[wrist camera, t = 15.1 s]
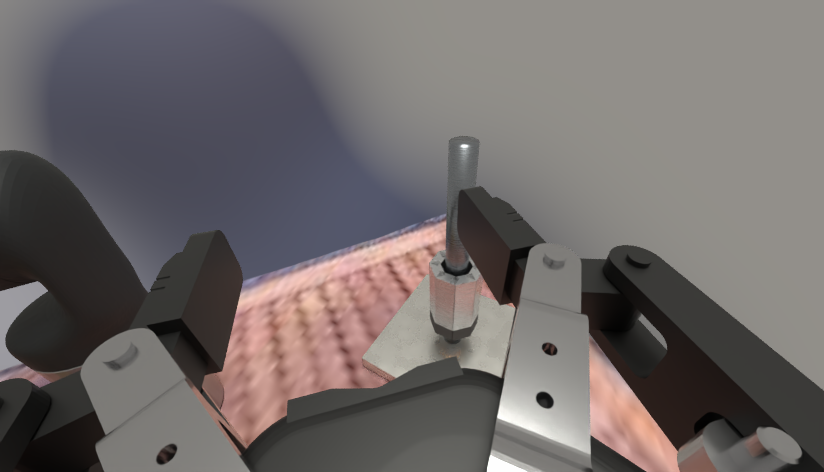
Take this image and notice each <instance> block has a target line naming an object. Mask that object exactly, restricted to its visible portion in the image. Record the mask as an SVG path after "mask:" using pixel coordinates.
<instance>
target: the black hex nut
mask: <svg viewBox="0 0 824 472" xmlns="http://www.w3.org/2000/svg"><path fill="white" fill-rule="evenodd" d="M430 320H431V323H432V325H433V328H434V331H435V333H437V334H439V335H441V336H443V337H445V338H447V339H450V340H452V341H453V340H457V339H461V338H465V337H469V336H471V334H472V332H473V330H474V328H475V326H476V324H477V321H478V315H477V317H476V319H475V321H474V322H473V324H472V326H471V327H467V328H463V329H459V330H455V331H453V330H452V331H451V330H449V329H447V328H445V327H443V326H441V325H438V324H436V323H435V321H434V318H433V316H432V313H431V310H430Z"/></svg>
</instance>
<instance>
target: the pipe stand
mask: <svg viewBox="0 0 824 472" xmlns="http://www.w3.org/2000/svg"><path fill="white" fill-rule="evenodd" d="M479 143H480V142H479V140H478V139H475V138H474V137H468V136H459V137H454V138H452V139H451V140H449V157H448V189H447V190H448V191H447V221H446V255H445V273H447V274H450V275H453V276H455V277H457V276H462V275H467V274H468V263H469V254H468V252H467V251H466V249H465V248H464V246H463V244H462V243H461V241H460V239H459V236H458V231H457V214H458V196H459V192H460V190H461V189H467V188H473V187H476V176H477V164H478V154H479ZM514 313H515V308H513V307H510V306H508V305H505V304H504V305H499V303H498V301H495V300H493V299H490V298H487V297H485V296H482V295H481V298H480V306H479V313H478V321H477V324H476V326H475V328H474V330H473V332H472V334H471V336H469V337H465V338H461V339H457V340H453V341H452V340H450V339H447V338H445V337H443V336H441V335H439V334H437V333H435V331H434V328H433V325H432V323H431V320H430V279H429V274H427V275H426V276H425V278H424V279H423V280H422V282H421V283H420V284H419V285H418V287H417V288H416V289H415V290H414V292H413V293H412V294H411V296H410V297H409V298H408V299H407V301H406V302H405V303H404V305H403V306H402V307H401V308H400V310H399V311H398V312H397V314H396V315H395V316H394V317H393V319H392V320H391V321H390V322H389V324H388V325H387V326H386V328H385V329H384V330H383V331H382V333H381V334H380V335H379V337H378V338H377V339H376V340H375V342H374V343H373V344H372V345H371V347H370V348H369V349H368V351H367V352H366V353H365V354H364V356H363V357H362V361H363V365H364V366H365V367H366V368H368V369H370V370H371V371H373V372H375V373H376V374H378V375H380V376H381V377H383V378H385V379H387V380H388V381H392V380H394V379H395V378H397V377H399V376H401V375H403V374H404V373H406V372H408V371H410V370H412V369H413V368H415V367H417V366H420V365H424V364H428V363H432V362H436V361H439V360H443V359H447V358H451V357H454V356H456V357H457V359H458V362H459V364H460V367H461V368H470V369H477V370H481V371H485V372H488V373H491V374H494V375H496V376H498V377H500V378H501V373H502V369H503V365H504V360H505V355H506V351H507V346H508V341H509V336H510V331H511V327H512V322H513V317H514Z"/></svg>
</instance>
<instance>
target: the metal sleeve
mask: <svg viewBox="0 0 824 472" xmlns="http://www.w3.org/2000/svg"><path fill="white" fill-rule="evenodd" d="M445 255H446V250H443V251H439V252H438V253H437V254H436V255H435V257H434V258H433V259H432V260H431V262H430V263H429V279H430V310H431V313H432V316H433V318H434V321H435V323H436V324H438V325H441V326H443V327H445V328H447V329H449V330H451V331H452V330H453V331H455V330H459V329H463V328H467V327H471V326H472V324H473V322H474V321H475V319H476V317H477V315H478V313H479V306H480V298H481V291H482V284H483V277H482V275H481V274H480V272H479V270H478V269H477V267H476V265H475V264H474V262H473V261H472V259H471V257H470V256H469V263H468V274H467V275H462V276H457V277H455V276H453V275H450V274H447V273H445Z"/></svg>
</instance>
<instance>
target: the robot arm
mask: <svg viewBox="0 0 824 472" xmlns="http://www.w3.org/2000/svg"><path fill="white" fill-rule="evenodd" d="M457 231H458V236H459V239H460V241H461V243H462V244H463V246H464V248H465V249H466V251H467V252H468V254H469V256H470V257H471V259H472V261H473V262H474V264H475V265H476V267H477V269H478V270H479V272H480V274H481V275H482V277H483V279H484V280H485V282H486V283H487V285H488V287H489V288H490V290H491V292H492V293H493V295H494V297H495V298H496V300H497V301H498V303H499V305H504V304H508V303H513V305H514V306H515V313H514V317H513V322H512V327H511V331H510V336H509V341H508V346H507V351H506V355H505V360H504V365H503V369H502V373H501V378H500V377H498V376H496V375H494V374H491V373H488V372H485V371H481V370H477V369H470V368H461V367H460V364H459V362H458V359H457V357H456V356H454V357H451V358H447V359H443V360H439V361H436V362H432V363H428V364H424V365H420V366H417V367H415V368H413V369H412V370H410V371H408V372H406V373H404V374H403V375H401V376H399V377H397V378H395V379H394V380H392V381H390V382H388V383H386V384H385V385H383V386H381V387H378V388H360V389H329V390H326V391H322V392H318V393H314V394H310V395H307V396H303V397H299V398H295V399H291V400H288V405H287V416H285V417H283V418H281V419H280V420H278V421H277V422H275V423H274V424H272V425H271V426H270V427H269V428H267V429H266V430H265V431H264V432H262V433H261V434H260V435H259V436H258V437H257V438H256V439H255V440H254V441H253V442H252V443H251V444H250V445H249V446H248V445H247V444H246V443H245V442H244V440H243V439H242V438H241V437H240V436H239V434H238V433H237V432H236V430H235V429H234V428H233V426H232V425H231V424H230V422H229V421H228V420H227V418H226V417H225V416H224V414H223V413H222V412H221V410H220V407H221V405H222V401H223V395H224V390H223V386H222V384H221V382H220V380H219V379H218V378H217V377H216V376H215V374H214V373H217V372H221V371H222V369H223V365H224V361H225V357H226V352H227V348H228V344H229V339H230V335H231V331H232V326H233V322H234V318H235V314H236V309H237V305H238V301H239V296H240V292H241V288H242V283H243V277H242V271H241V267H240V265H239V263H238V261H237V259H236V257H235V255H234V253H233V251H232V249H231V248H230V245H229V243H228V241H227V239H226V237H225V235H224V234H223V233H222V232H221V231H220V230H215V231H209V232H203V233H197V234H192V235H191V236H190V238H189V240H188V242H187V244H186V246H185V248H184V250H183V252H180V253H176V254H175V255H174V256H173V257H172V258H171V259H170V260H169V261H168V262H167V263H166V264H165V265H164V266H163V267H162V269H161V271H160V273H159V275H158V276H157V278H156V279H157V281H155V282H154V284H153V286H152V287H151V289H150V290H151V292H149V293H148V292H147V291H146V290H145V288H144V287H143V285H142V283H141V282H140V280H139V278H138V276H137V274H136V272H135V270H134V268H133V266H132V265H131V263H130V262H129V260H128V259H127V257H126V256H125V255H124V253H123V252H122V251H121V249H120V248H119V247H118V245H117V244H116V242H115V241H114V239H113V238H112V237H111V235H110V234H109V232H108V231H107V229H106V228H105V226H104V225H103V224H102V222H101V221H100V219H99V218H98V216H97V215H96V213H95V212H94V210H93V209H92V207H91V206H90V204H89V203H88V201H87V200H86V199H85V197H84V196H83V195H82V193H81V192H80V191H79V189H78V188H77V187H76V186H75V185H74V184H73V183H72V181H71V180H70V179H69V178H68V177H67V176H66V175H65V174H64V173H62V172H61V171H60V170H59V169H58V168H57V167H55V166H54V165H53V164H51V163H49V162H48V161H46V160H45V159H43V158H41V157H39V156H37V155H34V154H31V153H28V152H24V151H16V150H9V151H0V291H2V290H6V289H9V288H13V287H17V286H21V285H25V284H29V283H32V282H36V281H38V282H40V283H41V284H42V285H43V286H44V287H45V288H46V289H47V290H48V292H46V293H45V294H43V295H42V296H40V297H39V298H38V299H36V300H35V301H34V302H32V303H31V304H30V305H29V306H28V307H27V308H25V309H24V310H23V311H22V312H21V313H20V315H19V316H18V317H17V318H16V319H15V320H14V322H13V323H12V324H11V326H10V328H9V330H8V332H7V334H6V347H7V349H8V351H9V352H10V353H11V354H12V355H13V356H14V357H15V358H16V359H18V360H19V361H21V362H22V363H24V364H25V365H27V366H28V367H29V368H31V369H33V370H34V371H35V372H37V373H38V374H40V375H41V376H43V377H44V378H46V379H47V380H49V381H50V382H52V383H50V384H48V385H45V386H43V387H41V388H39V387H38V386H36V385H35V384H33V383H31V382H30V381H28V380H26V379H22V378H15V379H9V380H5V381H2V382H0V472H646V471H644V470H643V469H641V468H640V467H638V466H637V465H635V464H634V463H632V462H631V461H629V460H628V459H626V458H625V457H623V456H621V455H620V454H618V453H617V452H615V451H614V450H612V449H611V448H609V447H608V446H606V445H605V444H603V443H602V442H600V441H599V440H597V439H595V438H594V437H592V436H591V435H590V381H589V333H590V335H591V336H592V337H593V339H594V340H595V341H596V343H597V344H598V345H599V347H600V348H601V349H602V351H603V352H604V353H605V355H606V356H607V357H608V359H609V360H610V361H611V363H612V364H613V365H614V367H615V368H616V369H617V371H618V372H619V373H620V375H621V376H622V377H623V379H624V380H625V381H626V383H627V384H628V385H629V387H630V388H631V389H632V391H633V392H634V393H635V395H636V396H637V397H638V399H639V400H640V401H641V403H642V404H643V405H644V407H645V408H646V409H647V411H648V412H649V414H650V415H651V416H652V418H653V419H654V420H655V422H656V423H657V424H658V426H659V427H660V428H661V430H662V431H663V432H664V434H665V435H666V436H667V438H668V439H669V440H670V442H671V443H672V444H673V446H674V447H675V448H676V450H677V451H678V454H677V461H678V467H679V470H680V472H824V391H823V390H822V389H821V388H819V387H818V386H817V385H816V384H815V383H814V382H812V381H811V380H810V379H808V378H807V377H806V376H805V375H804V374H802V373H801V372H800V371H799V370H797V369H796V368H795V367H794V366H793V365H791V364H790V363H789V362H788V361H786V360H785V359H784V358H783V357H782V356H780V355H779V354H778V353H777V352H775V351H774V350H773V349H772V348H770V347H769V346H768V345H767V344H765V343H764V342H763V341H762V340H761V339H759V338H758V337H757V336H756V335H754V334H753V333H752V332H751V331H750V330H748V329H747V328H746V327H745V326H744V325H742V324H741V323H740V322H739V321H737V320H736V319H735V318H733V317H732V316H731V315H730V314H729V313H728V312H726V311H725V310H724V309H723V308H721V307H720V306H719V305H718V304H716V303H715V302H714V301H713V300H712V299H710V298H709V297H708V296H707V295H705V294H704V293H703V292H702V291H700V290H699V289H698V288H697V287H696V286H694V285H693V284H692V283H691V282H689V281H688V280H687V279H686V278H685V277H683V276H682V275H681V274H679V273H678V272H677V271H676V270H675V269H673V268H672V267H671V266H670V265H669V264H667V263H666V262H665V261H664V260H662V259H661V258H660V257H659V256H657V255H656V254H654V253H652V252H650V251H648V250H646V249H643V248H640V247H636V246H628V245H622V246H617V247H615V248H613V249H612V250H611V251H610V253H609V255H608V257H607V259H606V260H605V259H580V258H579V257H578V255H577V254H576V253H574V252H573V251H572V250H570V249H569V248H567V247H564V246H562V245H558V244H553V243H546V242H545V241H544V240H543V239H542V238H541V237H540V236H539V235H538V234H537V233H536V231H534V229H533V228H532V227H531V226H530V225H529V224H528V223H527V222H526V221H525V220H523V218H522V217H521V216H520V215H519V214H517V212H516V211H515V209H514V208H512V206H511V205H510V204H509V203H507V202H505V201H503V200H501V199H499V198H497V197H495V198H492V197H491V196H490V195H489V194H488V193H487V192H486V190H484V188H483V187H481V186H479V187H473V188H467V189H461V190H460V192H459V196H458V214H457ZM641 314H643V315H644V316H645V317H646V318H647V320H649V322H650V323H651V324H652V325H653V326H654V327H655V328H656V329H657V330H658V331H659V332H660V333H661V334H662V335H663V337H664V339H665V341H666V343H667V350H666V349H665V348H664V347H663V345H662V344H661V343H660V342H659V341H658V340H657V339H656V338H655V337H654V336H653V335H652V334H651V333H650V332H649V330H648V329H647V328H646V327H645V326H644V325H643V324H642V323H641V322H640V321H639V320H638V319H639V317H640V316H641Z"/></svg>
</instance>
